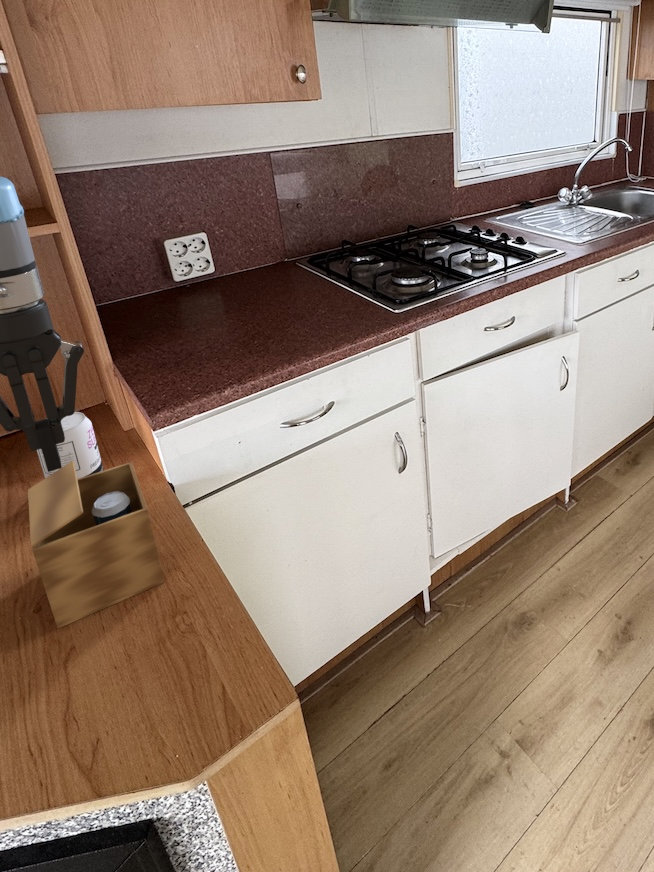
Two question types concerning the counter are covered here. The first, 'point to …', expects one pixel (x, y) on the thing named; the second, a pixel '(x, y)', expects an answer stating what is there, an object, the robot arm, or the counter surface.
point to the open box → (99, 551)
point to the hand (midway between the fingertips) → (54, 464)
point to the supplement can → (77, 447)
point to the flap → (53, 503)
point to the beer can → (111, 507)
